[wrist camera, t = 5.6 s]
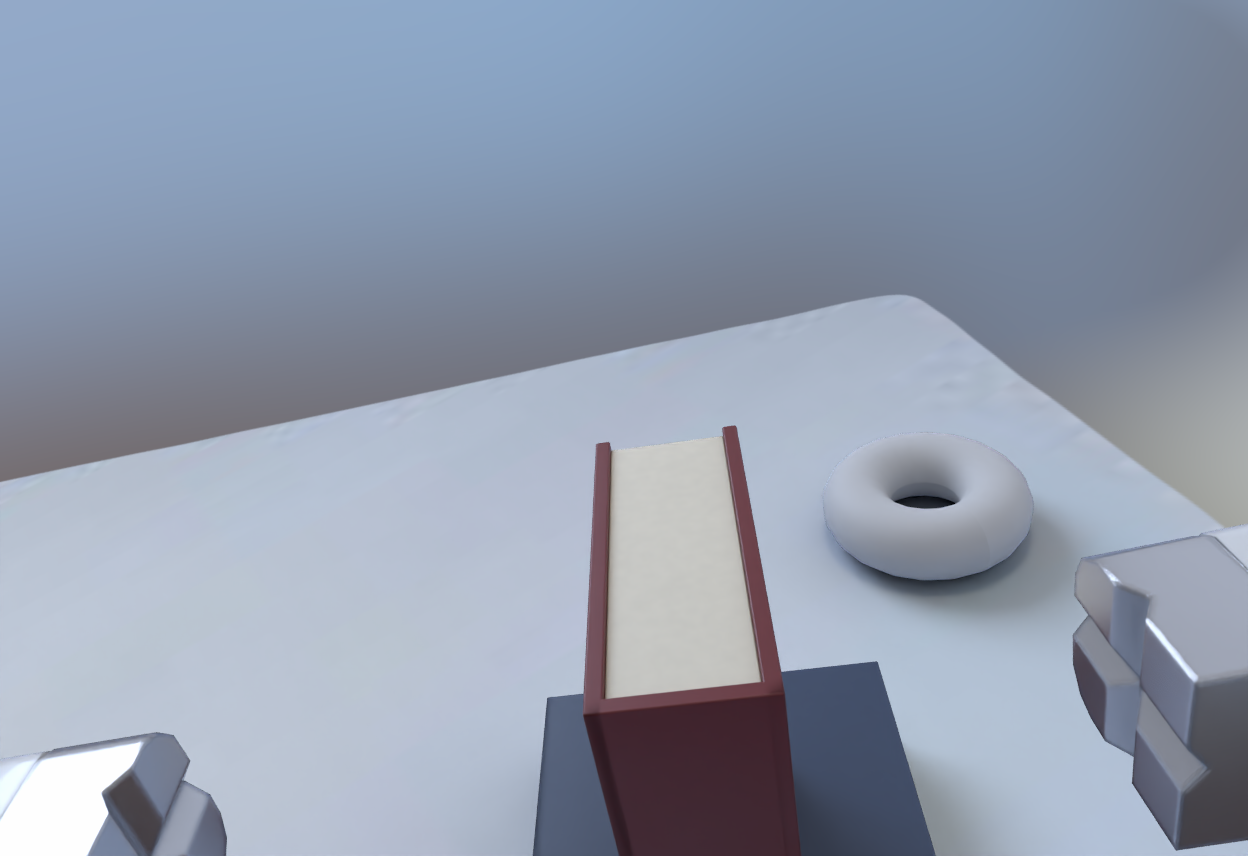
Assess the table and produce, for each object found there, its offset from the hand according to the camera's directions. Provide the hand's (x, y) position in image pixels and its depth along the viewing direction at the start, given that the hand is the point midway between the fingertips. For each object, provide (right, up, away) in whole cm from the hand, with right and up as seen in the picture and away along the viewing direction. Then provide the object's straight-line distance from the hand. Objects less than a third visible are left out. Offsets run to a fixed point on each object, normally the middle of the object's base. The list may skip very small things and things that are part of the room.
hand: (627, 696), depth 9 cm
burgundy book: (+3, -12, +22) cm, 25 cm away
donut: (+15, -3, +41) cm, 43 cm away
